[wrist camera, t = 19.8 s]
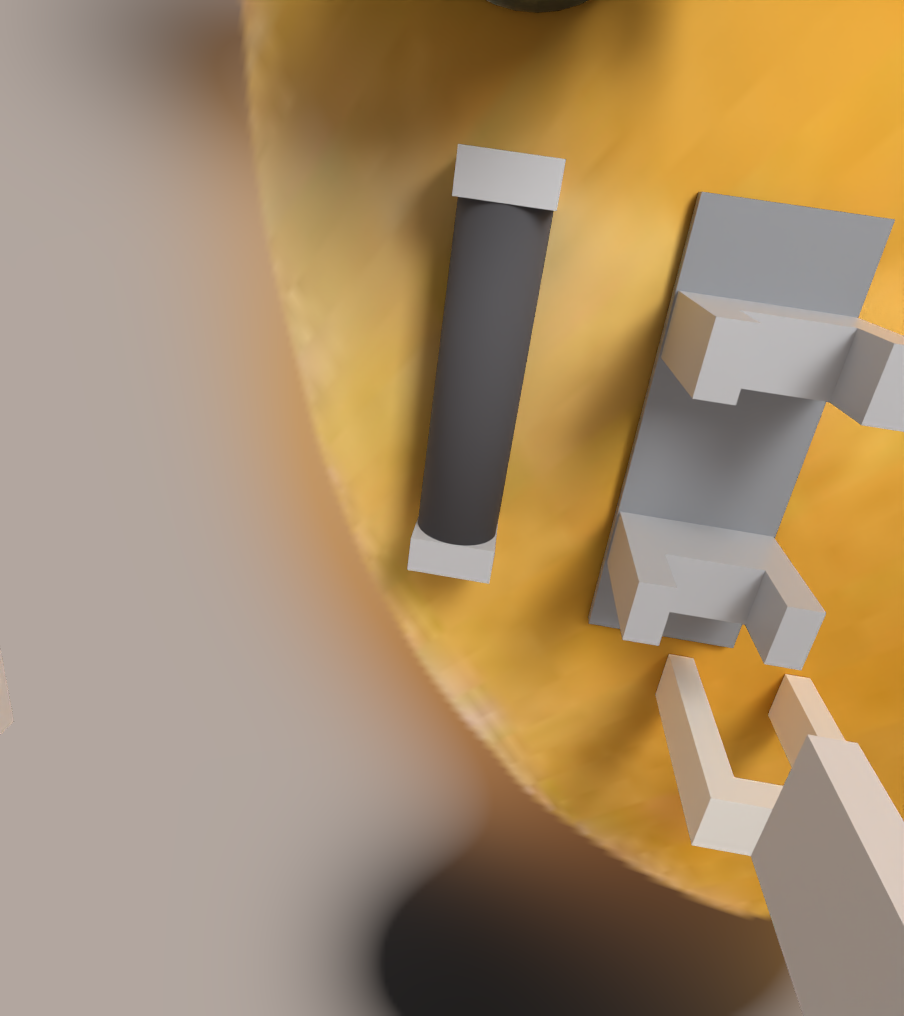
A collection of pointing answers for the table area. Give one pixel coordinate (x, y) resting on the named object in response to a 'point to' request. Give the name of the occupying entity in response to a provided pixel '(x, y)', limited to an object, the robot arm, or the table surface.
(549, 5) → the mug
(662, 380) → the cradle
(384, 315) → the table surface
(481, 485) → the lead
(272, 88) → the table surface
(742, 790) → the u-shaped clip
